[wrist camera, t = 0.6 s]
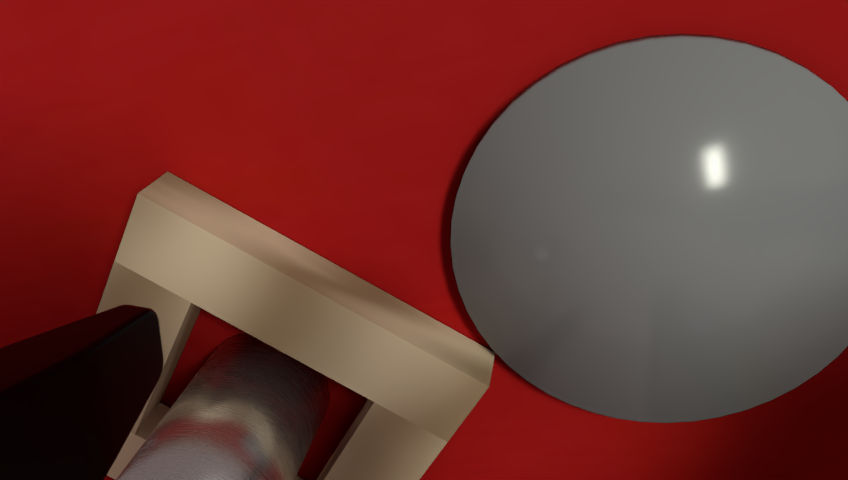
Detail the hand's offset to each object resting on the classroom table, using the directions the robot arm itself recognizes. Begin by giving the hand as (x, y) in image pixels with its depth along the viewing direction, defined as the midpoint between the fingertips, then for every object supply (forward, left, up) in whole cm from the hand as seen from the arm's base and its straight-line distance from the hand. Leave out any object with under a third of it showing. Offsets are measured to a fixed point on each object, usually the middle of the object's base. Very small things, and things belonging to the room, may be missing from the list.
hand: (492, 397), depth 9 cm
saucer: (-5, +2, -13) cm, 14 cm away
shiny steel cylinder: (+3, +14, -13) cm, 19 cm away
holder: (+3, +14, -13) cm, 19 cm away
